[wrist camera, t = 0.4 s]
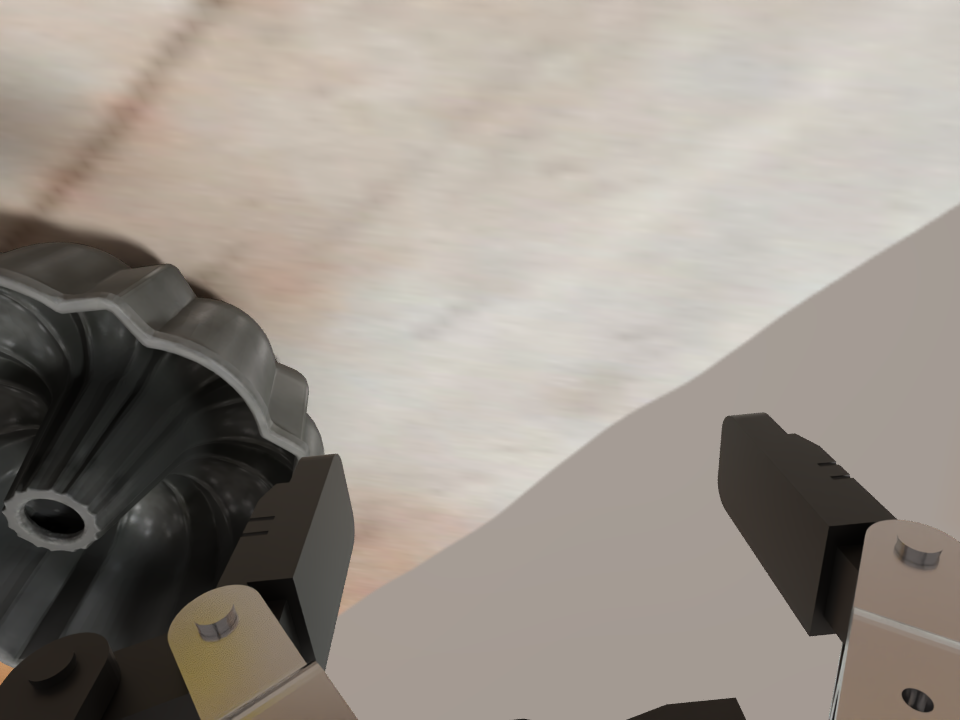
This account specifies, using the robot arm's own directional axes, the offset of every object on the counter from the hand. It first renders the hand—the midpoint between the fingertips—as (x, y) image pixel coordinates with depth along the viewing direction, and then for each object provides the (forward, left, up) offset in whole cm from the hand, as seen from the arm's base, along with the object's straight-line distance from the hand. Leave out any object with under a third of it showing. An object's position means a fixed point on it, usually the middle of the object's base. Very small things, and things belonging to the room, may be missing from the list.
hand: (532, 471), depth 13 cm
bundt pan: (+20, -15, -22) cm, 33 cm away
